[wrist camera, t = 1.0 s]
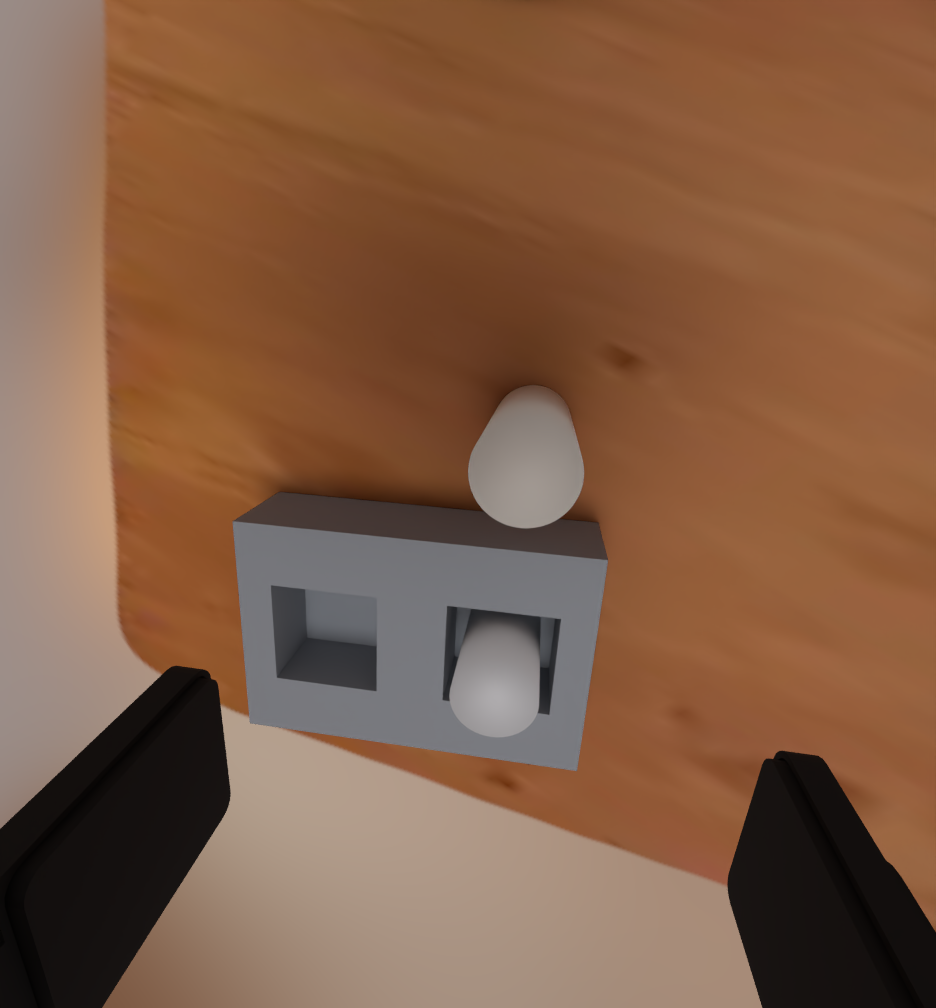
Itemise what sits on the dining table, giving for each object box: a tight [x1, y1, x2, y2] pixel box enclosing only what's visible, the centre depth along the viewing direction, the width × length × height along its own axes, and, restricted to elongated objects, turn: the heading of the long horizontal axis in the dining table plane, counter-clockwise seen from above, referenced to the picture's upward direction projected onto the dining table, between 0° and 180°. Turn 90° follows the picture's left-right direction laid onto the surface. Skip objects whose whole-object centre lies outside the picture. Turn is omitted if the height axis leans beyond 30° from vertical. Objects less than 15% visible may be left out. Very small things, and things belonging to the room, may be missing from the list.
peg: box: [468, 385, 584, 528], centre depth 24 cm, size 4×4×10 cm
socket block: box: [233, 492, 608, 771], centre depth 29 cm, size 12×18×8 cm, turn 87°
